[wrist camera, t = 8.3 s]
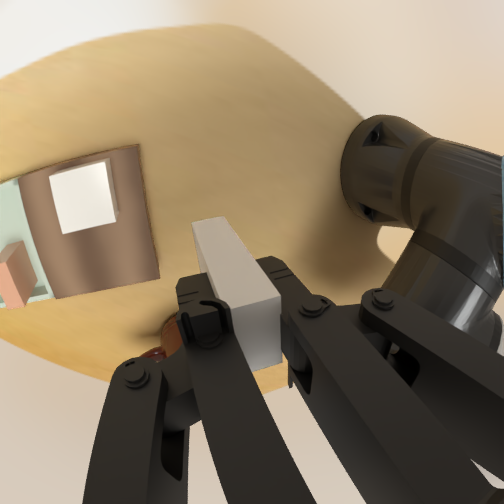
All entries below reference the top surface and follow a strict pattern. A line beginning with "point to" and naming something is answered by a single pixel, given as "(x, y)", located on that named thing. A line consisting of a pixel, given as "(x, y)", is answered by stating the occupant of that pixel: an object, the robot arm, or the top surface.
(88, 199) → the tile white
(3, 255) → the tile terracotta
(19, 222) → the tray
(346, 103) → the top surface
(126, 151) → the board
